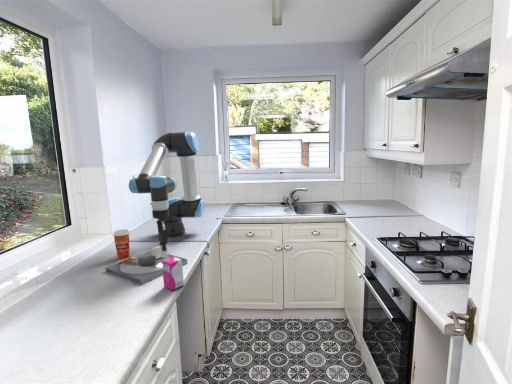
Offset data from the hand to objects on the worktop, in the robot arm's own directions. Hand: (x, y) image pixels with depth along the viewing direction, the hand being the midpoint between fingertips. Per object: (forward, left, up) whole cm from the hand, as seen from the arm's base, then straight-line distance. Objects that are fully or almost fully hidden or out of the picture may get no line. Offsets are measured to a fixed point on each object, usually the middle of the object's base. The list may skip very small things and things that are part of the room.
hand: (164, 256), depth 142 cm
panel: (+7, -4, -4) cm, 9 cm away
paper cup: (+5, -26, -4) cm, 27 cm away
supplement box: (+14, +22, -4) cm, 26 cm away
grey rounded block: (+3, -4, -1) cm, 5 cm away
